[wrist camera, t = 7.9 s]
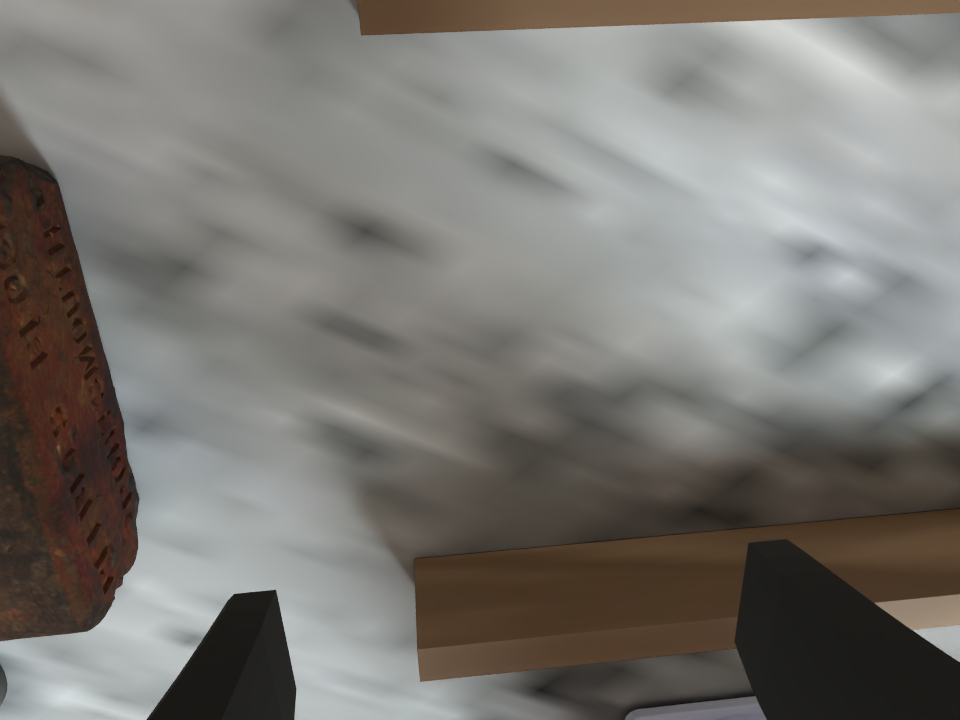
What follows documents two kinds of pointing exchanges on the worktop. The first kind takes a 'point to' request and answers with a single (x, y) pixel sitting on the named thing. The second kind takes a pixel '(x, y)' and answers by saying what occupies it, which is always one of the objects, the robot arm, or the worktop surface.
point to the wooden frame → (664, 559)
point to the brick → (55, 426)
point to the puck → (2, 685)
